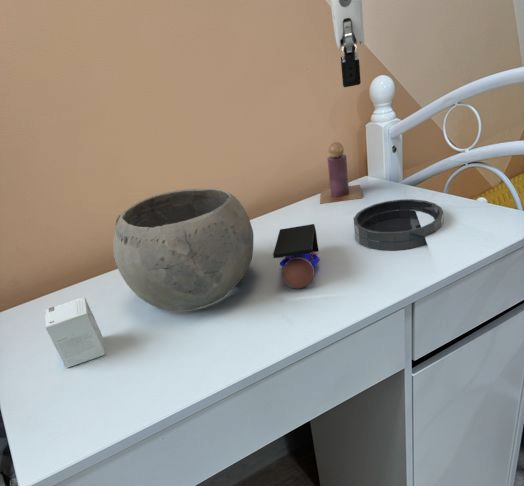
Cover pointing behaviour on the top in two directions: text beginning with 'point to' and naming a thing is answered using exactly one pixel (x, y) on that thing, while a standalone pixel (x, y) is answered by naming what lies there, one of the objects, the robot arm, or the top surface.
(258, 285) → the top surface
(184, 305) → the bowl
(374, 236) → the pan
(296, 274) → the figurine character
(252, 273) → the top surface
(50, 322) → the white cardboard box
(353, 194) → the coaster
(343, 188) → the purple vial
